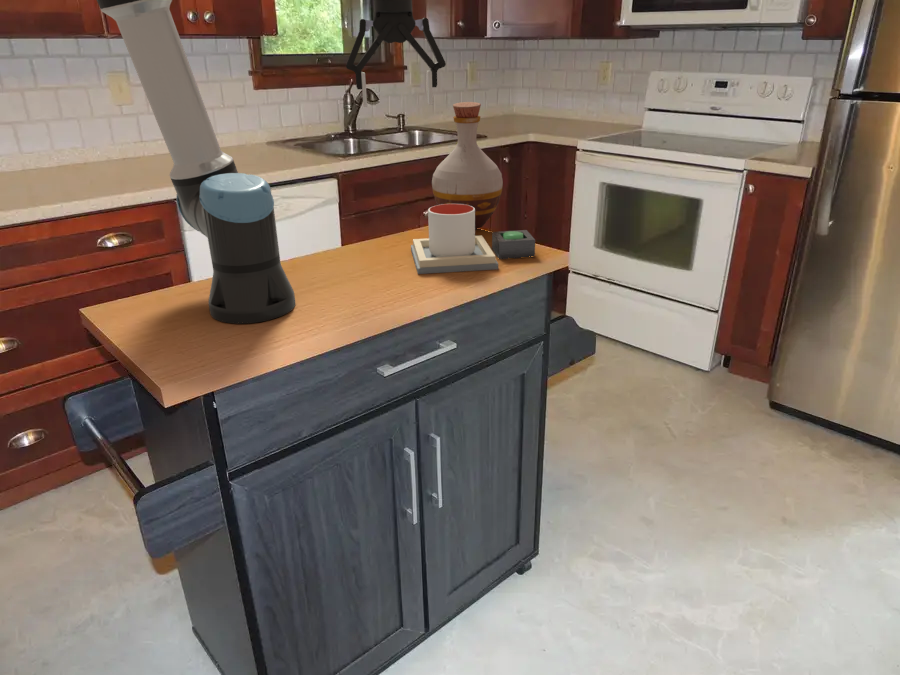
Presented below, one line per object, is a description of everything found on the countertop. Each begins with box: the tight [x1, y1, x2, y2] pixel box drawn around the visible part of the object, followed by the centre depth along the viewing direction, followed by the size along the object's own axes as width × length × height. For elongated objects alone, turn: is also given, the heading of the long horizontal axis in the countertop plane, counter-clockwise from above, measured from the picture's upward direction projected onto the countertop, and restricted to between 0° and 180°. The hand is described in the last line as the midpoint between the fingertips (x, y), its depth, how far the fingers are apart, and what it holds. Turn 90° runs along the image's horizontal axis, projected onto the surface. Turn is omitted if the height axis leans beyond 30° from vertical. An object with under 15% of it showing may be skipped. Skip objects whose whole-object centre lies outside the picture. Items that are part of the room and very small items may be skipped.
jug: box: [431, 101, 504, 230], centre depth 166 cm, size 20×18×30 cm
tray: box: [410, 235, 499, 275], centre depth 146 cm, size 17×17×3 cm
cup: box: [427, 204, 476, 257], centre depth 143 cm, size 10×10×10 cm
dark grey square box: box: [491, 229, 536, 260], centre depth 149 cm, size 8×8×4 cm
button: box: [503, 230, 523, 240], centre depth 148 cm, size 4×4×3 cm
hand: (397, 105), depth 139 cm, fingers open, 13 cm apart
